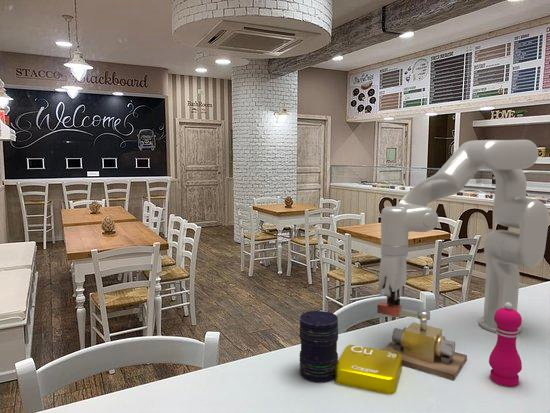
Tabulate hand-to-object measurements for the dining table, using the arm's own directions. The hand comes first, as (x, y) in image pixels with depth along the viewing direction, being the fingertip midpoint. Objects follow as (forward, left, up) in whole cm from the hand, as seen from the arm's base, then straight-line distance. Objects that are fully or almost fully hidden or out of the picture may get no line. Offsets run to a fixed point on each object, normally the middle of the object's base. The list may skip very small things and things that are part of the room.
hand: (393, 311), depth 125 cm
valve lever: (+4, +4, +1) cm, 6 cm away
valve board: (+3, +10, -11) cm, 15 cm away
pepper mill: (+2, +30, -11) cm, 32 cm away
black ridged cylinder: (+26, -9, -11) cm, 30 cm away
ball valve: (+3, +10, -9) cm, 14 cm away
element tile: (+19, +1, -11) cm, 22 cm away
